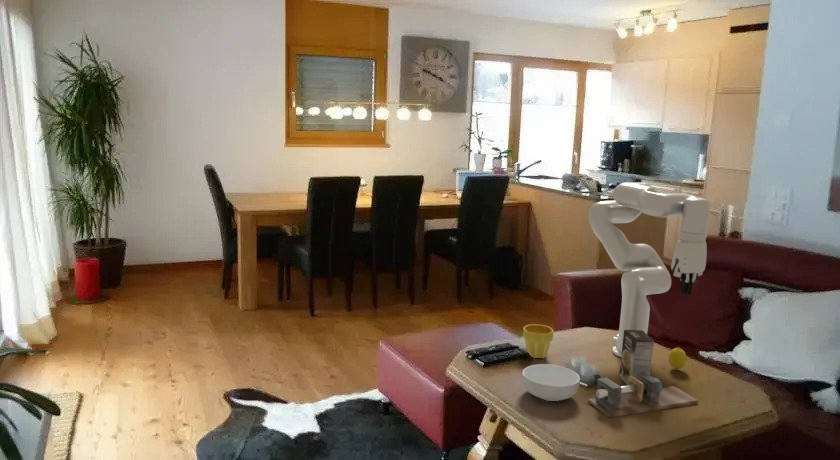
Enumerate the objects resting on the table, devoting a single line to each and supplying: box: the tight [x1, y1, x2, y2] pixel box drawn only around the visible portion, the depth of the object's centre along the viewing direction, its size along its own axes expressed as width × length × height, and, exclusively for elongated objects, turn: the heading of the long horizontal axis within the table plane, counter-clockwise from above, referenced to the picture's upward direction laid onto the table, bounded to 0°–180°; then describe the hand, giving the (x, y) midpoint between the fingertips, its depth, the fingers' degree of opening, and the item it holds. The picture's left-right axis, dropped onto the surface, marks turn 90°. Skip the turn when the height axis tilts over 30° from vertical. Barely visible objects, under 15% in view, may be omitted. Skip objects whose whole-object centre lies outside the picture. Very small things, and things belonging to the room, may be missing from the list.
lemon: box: [668, 346, 687, 371], centre depth 217 cm, size 6×6×8 cm
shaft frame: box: [587, 372, 699, 419], centre depth 191 cm, size 32×10×8 cm, turn 111°
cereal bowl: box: [521, 363, 581, 402], centre depth 193 cm, size 17×17×7 cm
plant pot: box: [522, 323, 554, 359], centre depth 224 cm, size 10×10×10 cm
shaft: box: [595, 377, 663, 398], centre depth 189 cm, size 21×4×4 cm, turn 111°
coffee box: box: [618, 330, 655, 386], centre depth 205 cm, size 9×6×16 cm
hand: (685, 293), depth 204 cm, fingers closed
